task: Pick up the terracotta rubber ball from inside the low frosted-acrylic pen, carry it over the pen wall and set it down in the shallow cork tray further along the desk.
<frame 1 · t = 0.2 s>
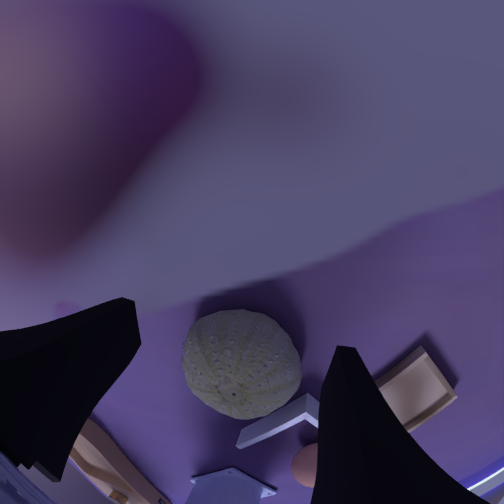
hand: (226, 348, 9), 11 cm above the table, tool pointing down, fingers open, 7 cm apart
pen: (319, 446, 21), on the table
sea urchin shell: (246, 353, 21), on the table
ball: (318, 447, 21), on the table
tray: (404, 397, 18), on the table
lamp: (117, 470, 33), on the table
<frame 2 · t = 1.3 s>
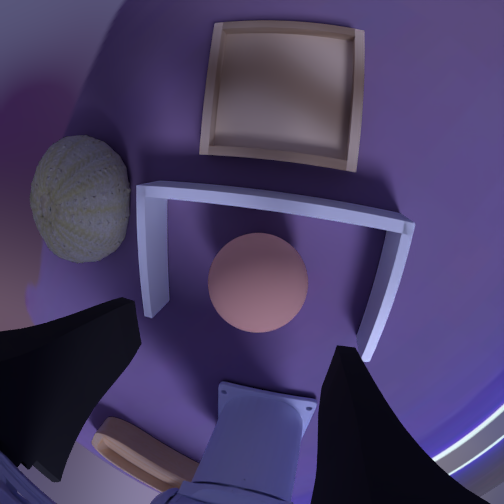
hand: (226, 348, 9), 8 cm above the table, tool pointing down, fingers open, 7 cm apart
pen: (266, 262, 16), on the table
sea urchin shell: (96, 195, 18), on the table
ball: (266, 264, 16), on the table
tray: (284, 89, 12), on the table
lamp: (191, 475, 32), on the table
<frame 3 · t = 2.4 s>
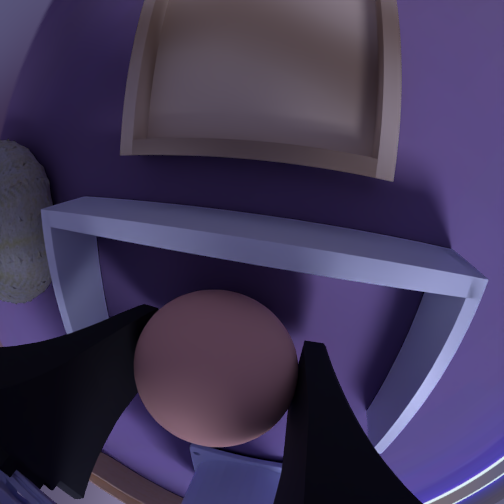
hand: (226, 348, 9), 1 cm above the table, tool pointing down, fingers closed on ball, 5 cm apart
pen: (237, 322, 10), on the table
sea urchin shell: (29, 214, 12), on the table
ball: (236, 325, 10), on the table, touching gripper
tray: (262, 40, 6), on the table
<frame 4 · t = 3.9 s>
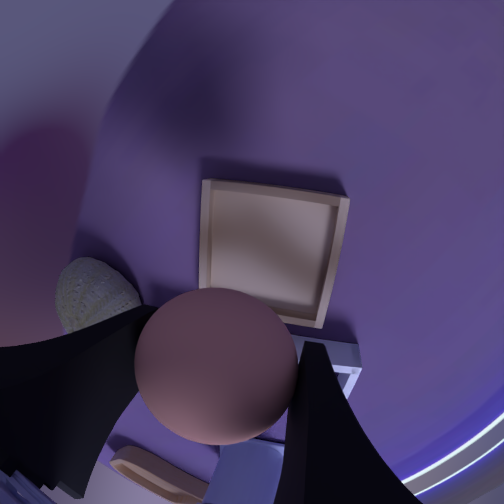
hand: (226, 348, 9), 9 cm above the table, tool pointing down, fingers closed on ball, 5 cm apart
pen: (254, 369, 20), on the table
sea urchin shell: (113, 300, 21), on the table
ball: (236, 323, 10), point 7 cm above the table, touching gripper
tray: (269, 251, 16), on the table
lamp: (195, 488, 36), on the table
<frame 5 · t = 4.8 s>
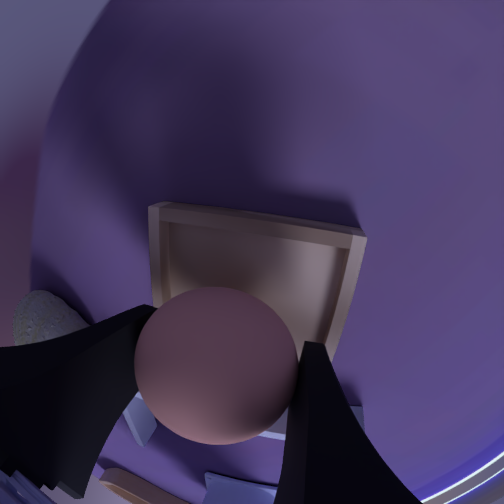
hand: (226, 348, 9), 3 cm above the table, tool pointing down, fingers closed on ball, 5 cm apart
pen: (235, 425, 15), on the table
sea urchin shell: (76, 337, 17), on the table
ball: (236, 323, 10), point 2 cm above the table, touching gripper
tray: (247, 303, 12), on the table
when the fingers open (3 cm above the table, at t = 5.3 s): ball drops 1 cm, resting on tray.
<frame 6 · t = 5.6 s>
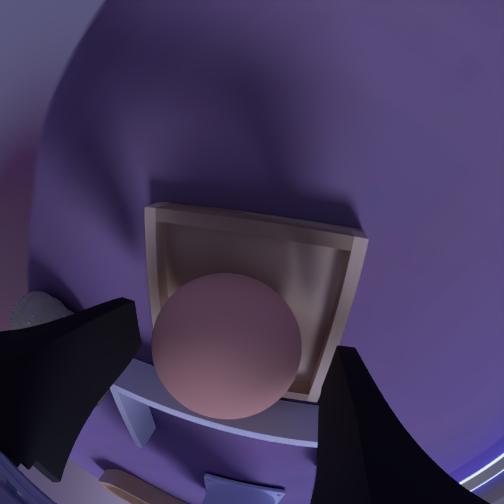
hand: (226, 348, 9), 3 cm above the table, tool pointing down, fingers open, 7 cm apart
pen: (234, 427, 15), on the table
sea urchin shell: (74, 338, 17), on the table
ball: (243, 309, 11), resting on tray
tray: (246, 305, 11), on the table
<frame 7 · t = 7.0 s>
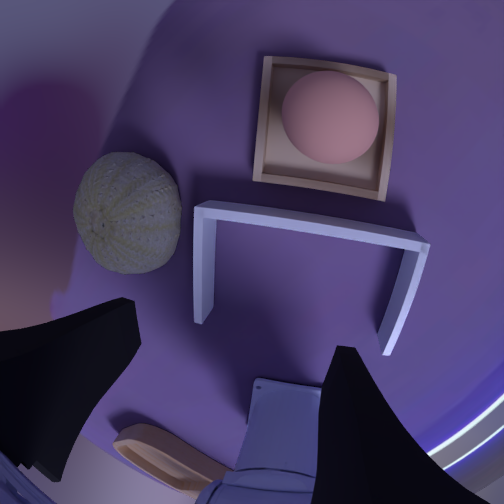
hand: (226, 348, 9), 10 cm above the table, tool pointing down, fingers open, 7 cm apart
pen: (306, 273, 18), on the table
sea urchin shell: (140, 208, 20), on the table
ball: (326, 123, 14), resting on tray
tray: (326, 125, 15), on the table
lamp: (206, 474, 35), on the table
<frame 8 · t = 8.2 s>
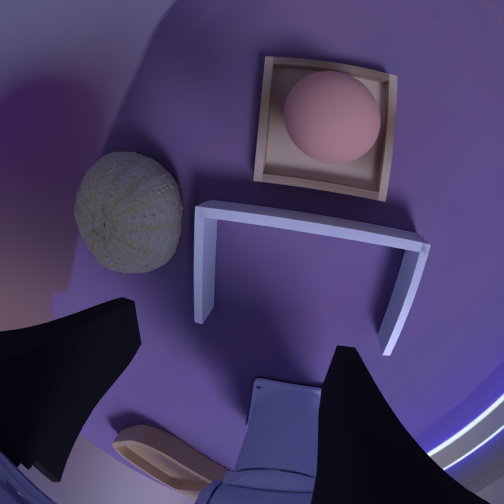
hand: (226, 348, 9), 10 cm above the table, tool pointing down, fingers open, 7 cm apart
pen: (306, 273, 18), on the table
sea urchin shell: (141, 208, 20), on the table
ball: (327, 123, 14), resting on tray
tray: (327, 125, 15), on the table
lamp: (204, 474, 36), on the table
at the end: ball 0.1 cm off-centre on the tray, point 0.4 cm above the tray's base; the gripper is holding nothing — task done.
